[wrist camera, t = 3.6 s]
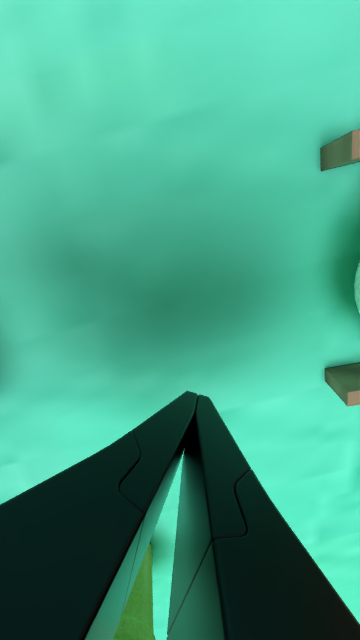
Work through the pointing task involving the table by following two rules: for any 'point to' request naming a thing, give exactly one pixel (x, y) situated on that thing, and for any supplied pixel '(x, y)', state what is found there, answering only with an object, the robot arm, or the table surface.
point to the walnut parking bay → (355, 379)
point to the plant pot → (139, 606)
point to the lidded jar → (357, 287)
